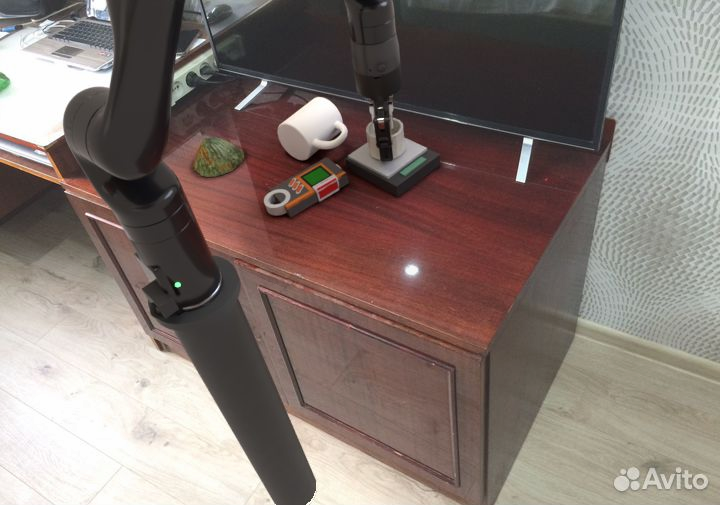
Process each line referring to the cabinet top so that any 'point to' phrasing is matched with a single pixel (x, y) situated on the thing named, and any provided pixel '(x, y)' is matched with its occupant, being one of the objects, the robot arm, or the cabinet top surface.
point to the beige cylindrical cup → (396, 135)
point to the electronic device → (306, 188)
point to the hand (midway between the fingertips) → (386, 147)
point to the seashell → (216, 157)
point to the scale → (394, 167)
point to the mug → (312, 129)
